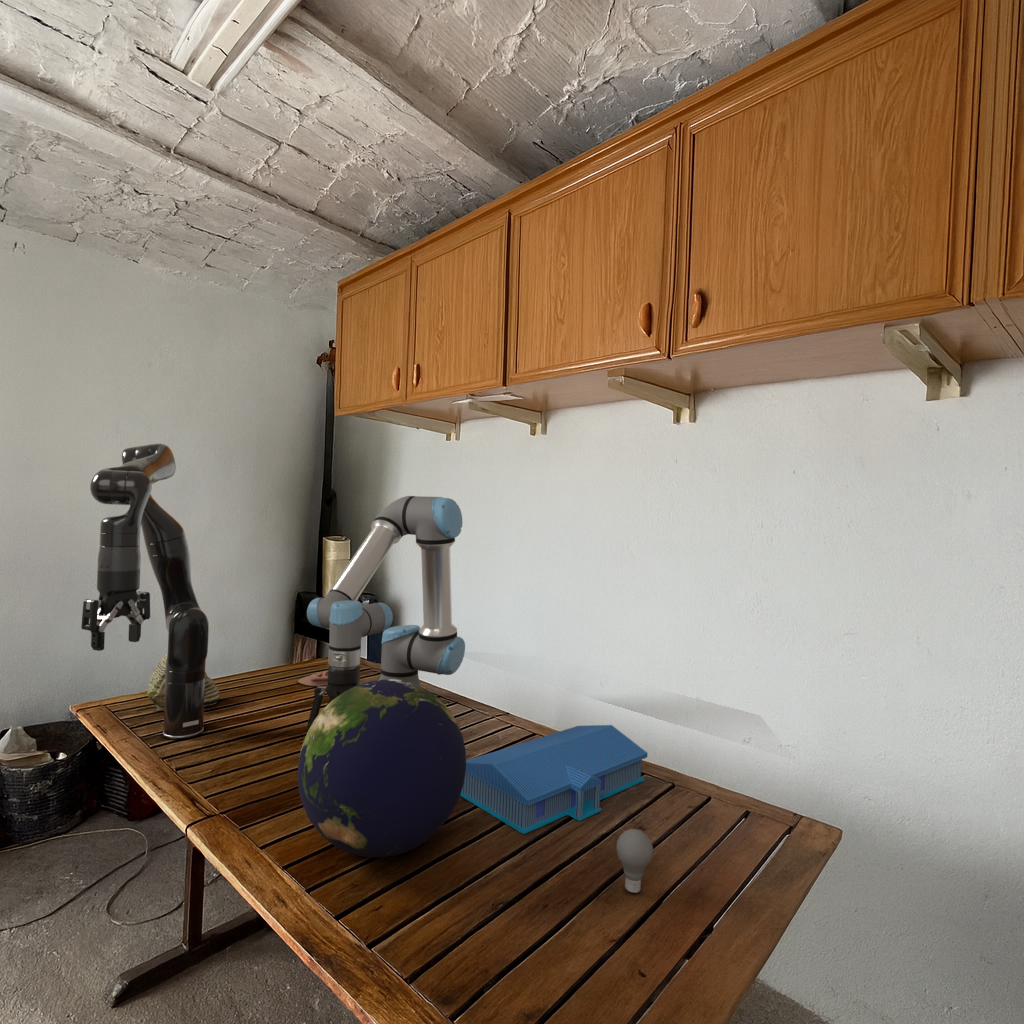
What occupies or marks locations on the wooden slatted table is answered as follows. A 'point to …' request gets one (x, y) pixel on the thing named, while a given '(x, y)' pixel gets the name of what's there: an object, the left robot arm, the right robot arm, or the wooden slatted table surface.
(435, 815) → the globe
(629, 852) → the light bulb
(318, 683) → the anatomical model
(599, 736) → the model building
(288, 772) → the wooden slatted table surface
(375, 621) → the right robot arm
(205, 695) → the fossil
